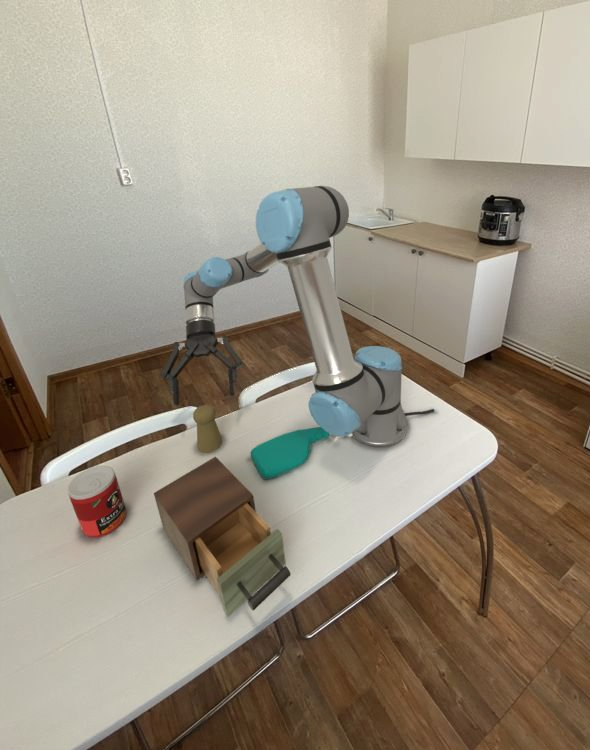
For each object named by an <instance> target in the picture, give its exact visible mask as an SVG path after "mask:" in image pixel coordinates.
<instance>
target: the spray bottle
mask: <svg viewBox="0 0 590 750" xmlns="http://www.w3.org/2000/svg"><path fill="white" fill-rule="evenodd" d="M330 436H331V434H329V433H328V432H326V431H325V430H323V429H322V428H321V427H320V426H318V427H310V428H305V429H297V430H292V431H289V432H286V433H284V434H280V435H278V436H276V437H273V438H271V439H268V440H267V441H264V442H262V443H260V444H258V445H256V446H255V447H253V448H252V449H251V450H250V459H251V461H252V463H253V464H254V466H255V469H256V470H257V472H258V474H259V475H260V476H261V478H263V479H264V480H268V479H272V478H275V477H277V476H280V475H282V474H285V473H288V472H290V471H292V470H294V469H297V468H298V467H300V466H301V465H303V464H305V463H306V461H308V459H309V457H310V455H311V447H312V444H315V443H316V442H320V441H322V440H323V439H329V438H330ZM348 437H349V438H352V437H353V435H352V433H351V434H349V435H348ZM338 439H340V437H338V436H335V438H334V440H333V441H334V442H337V441H338Z"/></svg>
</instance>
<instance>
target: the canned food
mask: <svg viewBox="0 0 590 750" xmlns="http://www.w3.org/2000/svg"><path fill="white" fill-rule="evenodd" d="M67 494H68V497H69V500H70V503H71V505H72V509H73V510H74V512H75V516H76V519H77V522H78V523H79V526H80V529H81V531H82V533H83V534H84V535H85V536H86V537H88V538H92V539H93V538H94V539H95V538H101V537H105V536H107V535H109V534H111V533H112V532H114V531H115V530H117V529H118V528H119V527H120V526H121V524H122V523H123V522H124V521H125V518H126V512H127V507H126V504H125V501H124V498H123V495H122V491H121V488H120V483H119V481H118V478H117V475H116V472H115V470H114V469H113V467H111V466H109V465H96V466H92V467H90V468H87V469H85V470H83V471H81V472H80V473H78V474H77V475H76V476H75V477H73V478H72V479H71V481H70V482H69V484H68V486H67Z"/></svg>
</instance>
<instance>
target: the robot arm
mask: <svg viewBox="0 0 590 750" xmlns="http://www.w3.org/2000/svg"><path fill="white" fill-rule="evenodd" d="M349 217H350V209H349V205H348V202H347V200H346V198H345V197H344V195H343V194H342V193H341V192H340V191H338V190H337V189H335V188H333V187H331V186H327V185H315V186H306V187H295V188H286V189H282V190H276V191H273V192H270V193H268V194H267V195H265V196H264V197H263V199H262V200H261V201H260V203H259V205H258V209H257V210H256V214H255V229H256V233H257V237H258V240H259V241H260V242H259V243H256V245H255V246H253V247H252V248H249V250H247V251H246V252H244V253H243V254H240V255H237V256H234V257H230V258H226V259H225V258H224V257H218V256H212V257H210V258H208V259H207V260H206V261H205V262H203V264H201V266H200V267H199V269H198V270H194V271H190V272H188V273H186V275H184V279H183V291H184V293H183V294H184V310H185V311H184V315H185V317H184V318H185V337H186V340H185V342H178V341H174V342H173V348H172V351H171V354H170V355H169V357H168V358H167V362H166V363H165V366H164V367H163V369H162V372H161V373H160V377H161V378H162V379H163V380H167V381H168V391H169V392H170V393H171V394H173V404H174V406H180V382H179V379H178V377H179V376H180V374H181V373H182V371H183V370H184V369H185V367H187V365H188V364H189V363H190V361H192V360H193V358H194V357H196V358H200V357H203V356H204V357H208V356H210V355H211V354H212V355H213V356H214V357H215V358H217V359H218V360H219V361H221V362H222V363H223V364H224V365H225V366H227V367H228V368H229V369H228V370H227V371H228V372H227V373H228V383H229V384H228V385H229V394H230V396H231V397H232V396H235V389H234V388H235V387H234V383H237V381H238V374H237V370H238V369H240V368H241V369H242V368H243V366H244V365H243V361H242V360H241V358H240V357H239V356H238V355H237V353H236V352H235V350H234V348H233V347H232V346H231V344H230V343H229V339H228V336H227V335H226V334H224V335H222V337H217V336H216V324H215V321H216V320H215V307H214V296H216V294H218V292H219V291H220V290H223V289H225V288H228V287H231V286H234V285H237V284H239V283H240V284H241V283H242V282H246V281H248V280H249V281H250V280H251V279H255V278H259V277H262V276H264V275H265V274H267V273H268V272H269V270H270V269H271V268H273V267H275V266H276V265H278V264H279V263H281V264H282V265H284V266H285V267H286V268H287V271H288V274H289V278H290V281H291V284H292V288H293V291H294V295H295V298H296V302H297V306H298V309H299V312H300V316H301V319H302V323H303V326H304V330H305V334H306V338H307V340H308V344H309V345H308V346H309V348H310V352H311V355H312V358H313V362H314V366H315V369H316V371H315V373H314V374H313V376H312V383H313V387H314V391H315V392H314V393H312V394H311V396H310V397H309V399H308V400H309V401H308V411H309V413H310V415H311V417H312V419H313V421H314V422H315V423H316V424H317V426H318V427H321V428H322V429H323V430H325V431H326V432H328V433H329V434H331V435H332V436H334V437H336V436H338V437H339V438H343V437H344V438H345V437H347V436H348V435H349V434H351V433H352V437H353V438H354V439H355V440H356V441H357V442H359V443H360V444H363V445H365V446H367V447H372V448H387V447H391V446H394V445H396V444H398V443H399V442H401V441H402V440H403V439H404V438H405V436H406V434H407V432H408V421H407V418H406V417H409V416H420V415H427V414H431V413H435V409H434V408H432V409H428V410H423V411H411V412H404V409H403V406H402V404H401V403H402V402H401V401H402V373H403V371H402V370H403V365H402V357H401V355H400V354H399V352H397V351H395V349H392V348H389V347H385V346H381V345H369V346H368V345H367V346H363V347H361V348H359V349H358V350H357V351H356V352H355V354H353V351H352V348H351V344H350V340H349V336H348V332H347V329H346V325H345V321H344V317H343V313H342V310H341V306H340V302H339V298H338V294H337V290H336V287H335V283H334V279H333V274H332V271H331V267H330V264H329V260H328V255H329V253H330V251H331V250H332V248H333V247H332V244H331V240H330V239H331V238H333V237H335V236H338V235H339V234H340V233H342V231H344V229H345V228H346V227H347V224H348V222H349V219H350V218H349ZM218 344H220V345H221V346H224V348H225V349H226V351H227V352H228V354H229V355H230V356H231V358H232V359H233V361H234V362H235V363H234V362H232V361H231V360H230V359H229V358H227V356H225V355H224V354H223V353H222V352H220V351H219V350H218V349H217V348H216V347H217V345H218ZM183 349H186V350H187V351H186V352H185V353H184V356H183V357H182V358H181V359H180V360H179V362H178V363H177V360H178V358H179V356H180V352H182V351H183ZM176 363H177V364H176ZM175 364H176V366H175ZM174 366H175V367H174ZM331 435H330V436H331ZM348 437H349V436H348Z"/></svg>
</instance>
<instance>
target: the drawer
mask: <svg viewBox="0 0 590 750" xmlns="http://www.w3.org/2000/svg"><path fill="white" fill-rule="evenodd" d="M193 546H194V550H195V554H196V558H197V562H198V564H199V566H200V567H201V569H202V570H203V572H204V573H205V576H206V577H207V580H209V582H210V583H211V585H212V586H213V588H214V589H215V591H216V592H217V593H218V596H219V597H220V600H221V606H222V611H223V613H224V614H225V616H226V617H229V616H230V615H232V614H233V612H235V611H236V610H237V609H238V608H239V607H240V606H241V605H243V603H244V602H246V601H247V604H248V607H249V609H250V610H251V611H253V612H254V611H255V610H256V609H258V607H259V606H260V605H261V604H263V603H264V601H266V599H268V597H270V596H271V595H272V594H273V593H274V592H275V591H276V590H277V589H278V588H279V587H280V586H281V585H282V584H283V583H284V582H285V581H286V580H287V579H289V578H290V577H291V575H292V574H291V571H290V570H289V569H290V568H288V567H287V566H286V559H285V557H286V556H285V549H284V542H283V533H282V531H281V530H280V529H279V528H276V529H275V530H274V531H272V533H271V527H270V525H269V524H267V522H266V521H265V520H264V519H263V518H262V517H261V516H260V515H259V514H258V513H257V511H256V512H255V511H254V510H253V509H252V508H251V507H250V506H249V504H248V503H246V504H245V505H243V506H242V507H240V508H239V509H238V510H236V511H235V512H234V513H232V514H231V515H229V516H228V517H227V518H225V519H224V520H222V521H221V522H220V523H218V524H217V525H216V526H214V527H213V528H211V529H210V530H209V531H207V532H206V533H205V534H203V535H202V536H200V537H199V538H198V539H196V540H195V541H193ZM284 565H285V566H284Z"/></svg>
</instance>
